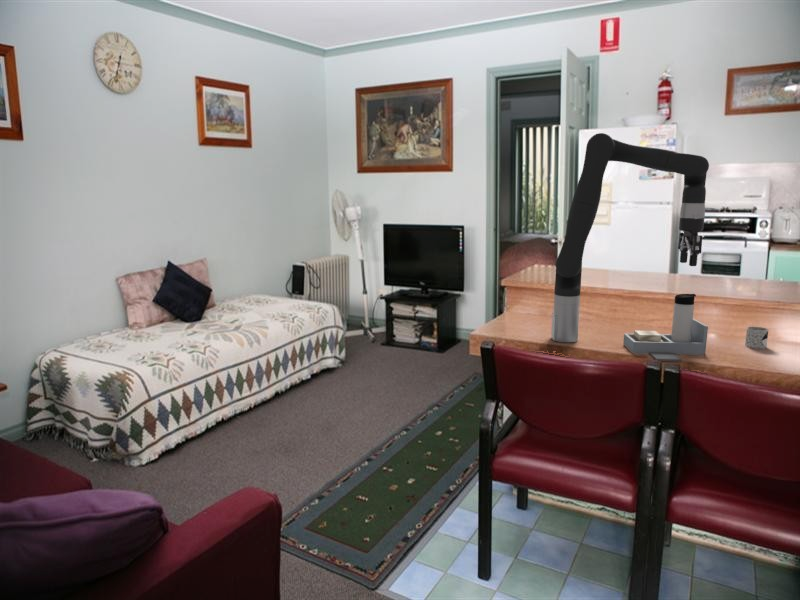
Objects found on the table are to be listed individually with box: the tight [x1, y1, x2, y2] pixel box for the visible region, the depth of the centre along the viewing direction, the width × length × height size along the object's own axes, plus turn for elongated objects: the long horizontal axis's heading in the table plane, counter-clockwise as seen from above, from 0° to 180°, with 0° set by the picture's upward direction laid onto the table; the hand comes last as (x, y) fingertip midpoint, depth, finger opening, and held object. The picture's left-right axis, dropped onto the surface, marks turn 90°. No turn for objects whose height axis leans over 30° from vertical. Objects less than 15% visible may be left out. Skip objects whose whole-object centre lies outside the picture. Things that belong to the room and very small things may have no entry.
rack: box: [622, 318, 709, 356], centre depth 213 cm, size 24×12×10 cm, turn 85°
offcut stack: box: [633, 330, 663, 342], centre depth 214 cm, size 8×7×6 cm
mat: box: [648, 352, 683, 363], centre depth 203 cm, size 8×8×1 cm
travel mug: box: [671, 293, 697, 342], centre depth 211 cm, size 6×7×20 cm
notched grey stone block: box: [744, 326, 769, 350], centre depth 218 cm, size 10×7×7 cm
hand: (687, 264), depth 207 cm, fingers open, 8 cm apart
